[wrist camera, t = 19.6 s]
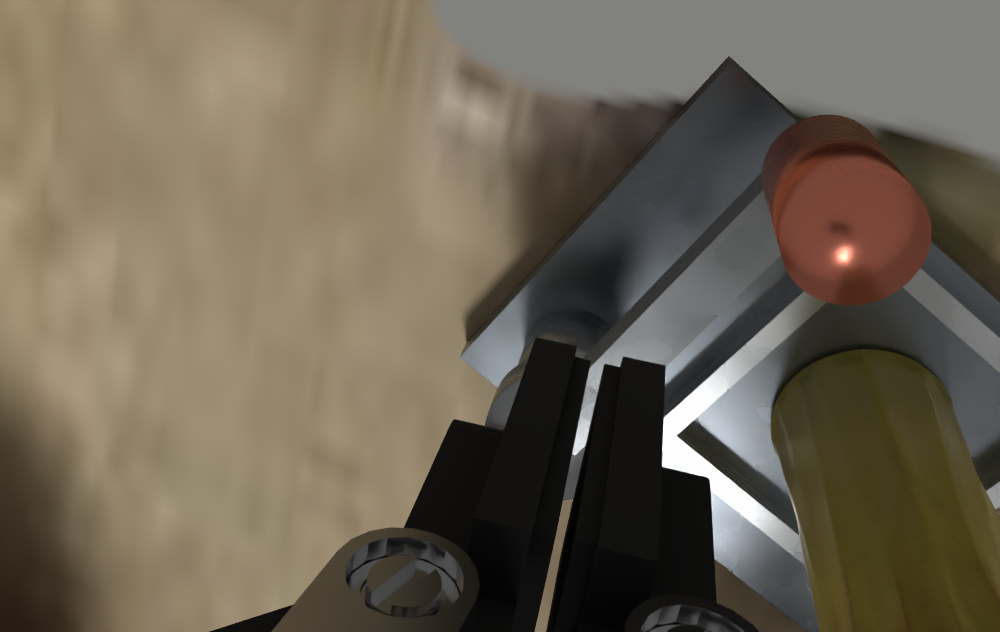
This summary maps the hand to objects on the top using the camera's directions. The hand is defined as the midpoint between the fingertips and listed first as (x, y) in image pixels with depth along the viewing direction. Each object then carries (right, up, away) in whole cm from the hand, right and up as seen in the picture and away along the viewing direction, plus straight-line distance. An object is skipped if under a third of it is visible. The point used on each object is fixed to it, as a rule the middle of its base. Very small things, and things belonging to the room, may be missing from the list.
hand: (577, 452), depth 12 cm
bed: (+9, 0, +22) cm, 24 cm away
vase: (+12, -2, +21) cm, 24 cm away
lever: (+4, +2, +16) cm, 17 cm away
